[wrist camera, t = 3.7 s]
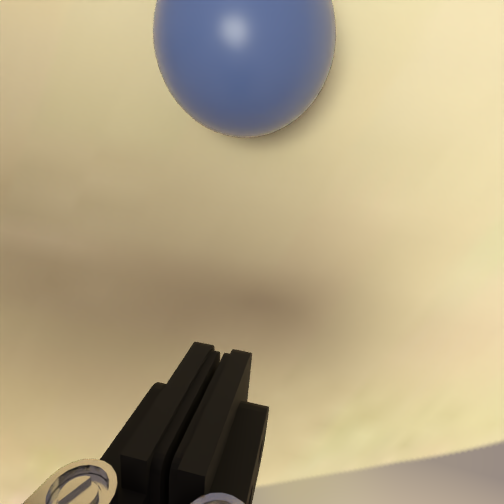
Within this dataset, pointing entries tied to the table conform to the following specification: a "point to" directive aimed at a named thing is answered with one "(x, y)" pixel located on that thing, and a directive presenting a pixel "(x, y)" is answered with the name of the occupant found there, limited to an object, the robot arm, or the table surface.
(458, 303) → the table surface
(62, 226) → the table surface
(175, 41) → the blue ball
